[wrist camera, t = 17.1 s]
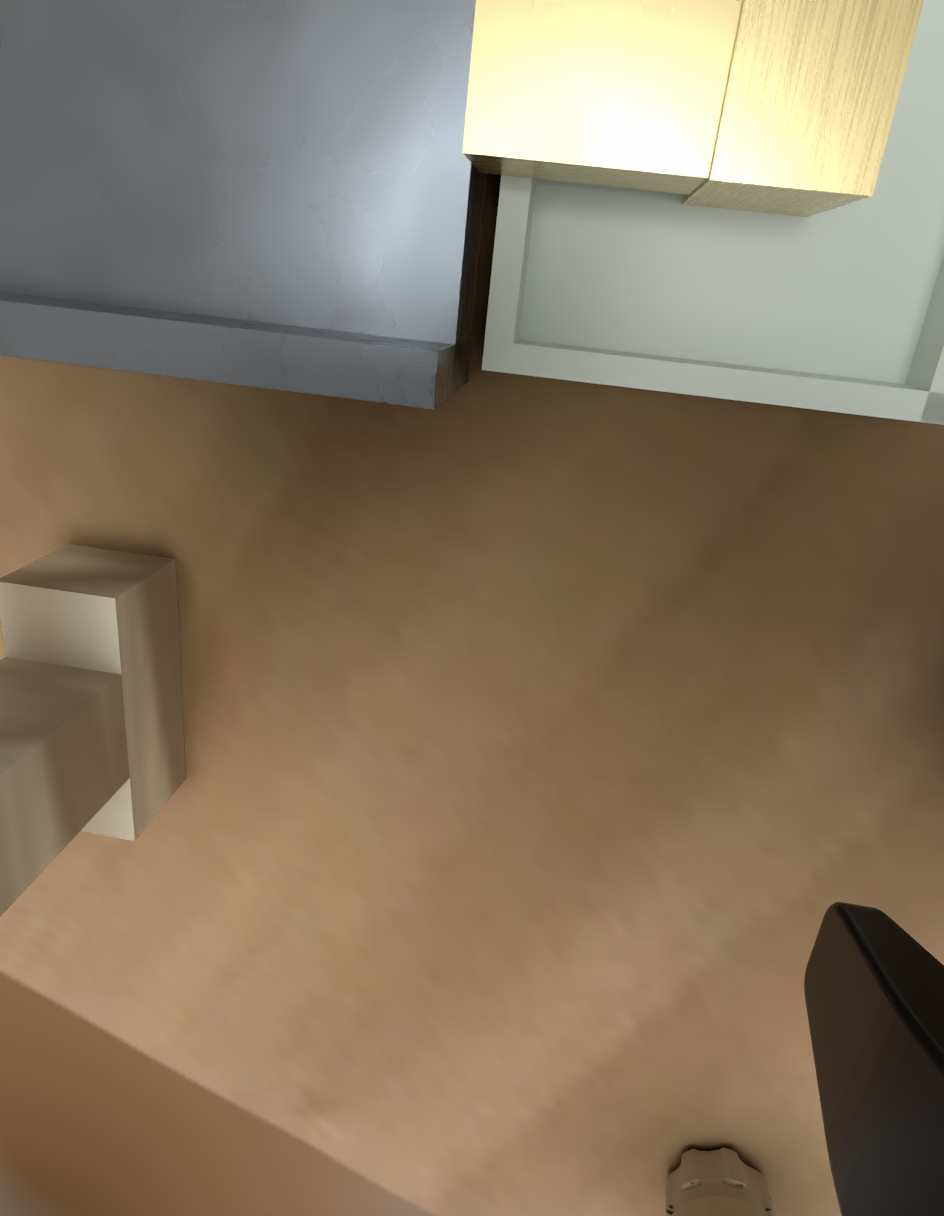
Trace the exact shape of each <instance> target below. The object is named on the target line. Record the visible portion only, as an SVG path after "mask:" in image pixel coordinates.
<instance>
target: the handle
mask: <svg viewBox="0 0 944 1216" xmlns="http://www.w3.org/2000/svg"><path fill="white" fill-rule="evenodd" d="M666 1216H775V1213H774V1209H773V1206H772V1202H771V1199H770V1195H769V1192H768V1189H767V1187H766V1184H765V1182H764V1179H763V1177H762V1175H761V1174H760V1173H759V1172H758V1171H757V1170H756V1169H752V1168H750V1167H749V1166H747V1165H746V1164H745V1163H743V1162H742V1161H741V1160H740V1159H739V1156H738V1154H737V1153H736V1152H735V1151H734V1150H731V1149H728V1148H721V1149H719V1150H714V1151H700V1150H696V1149H691V1150H688V1151H686V1152H684V1153H683V1155H682V1157H681V1164H680V1166H679V1167H678V1168H677V1169H676V1170H675V1171H673V1172H671V1173H670V1174H669V1176H668V1178H667V1187H666Z"/></svg>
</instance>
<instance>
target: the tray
mask: <svg viewBox="0 0 944 1216" xmlns="http://www.w3.org/2000/svg"><path fill="white" fill-rule="evenodd" d="M683 195H684V194H678V193H668V192H659V191H649V190H640V189H630V188H620V187H611V186H601V185H591V184H582V183H572V182H563V181H553V180H543V179H534V178H524V177H514V176H505V175H501V183H500V192H499V202H498V212H497V222H496V232H495V242H494V252H493V262H492V271H491V281H490V291H489V301H488V311H487V321H486V331H485V341H484V350H483V360H482V370H486V371H494V372H503V373H511V374H520V375H528V376H536V377H545V378H553V379H562V380H570V381H578V382H587V383H595V384H604V385H612V386H621V387H629V388H637V389H646V390H654V391H663V392H671V393H679V394H688V395H696V396H705V397H713V398H721V399H730V400H738V401H747V402H755V403H764V404H772V405H780V406H789V407H797V408H806V409H814V410H822V411H831V412H839V413H848V414H856V415H864V416H873V417H881V418H890V419H898V420H907V421H915V422H923V423H932V424H940V425H944V0H924V3H923V6H922V10H921V14H920V18H919V22H918V25H917V29H916V33H915V37H914V41H913V44H912V48H911V52H910V56H909V60H908V63H907V67H906V71H905V75H904V78H903V82H902V86H901V90H900V94H899V97H898V101H897V105H896V109H895V113H894V116H893V120H892V124H891V128H890V132H889V135H888V139H887V143H886V147H885V151H884V154H883V158H882V162H881V166H880V170H879V173H878V177H877V181H876V185H875V189H874V192H873V196H872V197H869V198H865V199H862V200H859V201H856V202H853V203H850V204H847V205H843V206H840V207H837V208H834V209H831V210H828V211H825V212H821V213H818V214H815V215H812V216H809V217H800V216H791V215H781V214H771V213H761V212H752V211H742V210H732V209H722V208H713V207H703V206H693V205H684V204H682V200H683Z"/></svg>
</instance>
